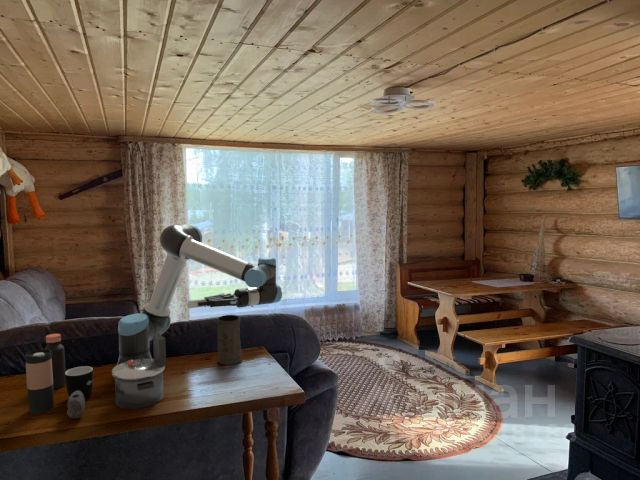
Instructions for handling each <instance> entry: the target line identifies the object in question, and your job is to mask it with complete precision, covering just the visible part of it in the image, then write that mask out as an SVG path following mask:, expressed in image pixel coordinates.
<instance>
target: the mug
mask: <svg viewBox="0 0 640 480" xmlns="http://www.w3.org/2000/svg"><path fill="white" fill-rule="evenodd" d="M65 381H66V385H65V386H66V387H65V388H66V391H67V396H68V398H69V397H70V395H71V394H72V393H73V392H74V391H77V390H79V391H81V392H82V393H83V395H84V399H86V400H88V399H89V398H90V397H91V395H92V392H93V385H94V369H93V367H92V366H87V365H85V366H84V365H83V366H82V365H81V366H77V367H73V368H69V369H67V370H65ZM87 398H88V399H87Z"/></svg>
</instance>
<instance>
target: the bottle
mask: <svg viewBox="0 0 640 480" xmlns="http://www.w3.org/2000/svg"><path fill="white" fill-rule="evenodd" d="M45 342H46V346H45V348H44V349H48V350H51V357H52V372H53V390H56V389H55V388H57V389H60V388H59V387H61V388H63V387H64V386H66V381H65V372H66V357H65V346H64V345H63V344H61V342H62V335H61V334H60V333H51V334H47V335H46V336H45ZM62 386H63V387H62Z"/></svg>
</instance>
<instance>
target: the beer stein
mask: <svg viewBox="0 0 640 480" xmlns="http://www.w3.org/2000/svg"><path fill="white" fill-rule="evenodd" d="M216 324H217V355H218V357H217V361H218V363H219V364H221V365H226V366H228V365H236V364H239V363H240V362H241V361H242V360H243V355H242V354H243V351H242V346H241V331H240V330H241V327H240V324H241V318H240V316H239V315H235V314H226V315H221V316H219V317H218V318H217V322H216Z"/></svg>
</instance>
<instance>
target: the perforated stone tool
mask: <svg viewBox="0 0 640 480" xmlns="http://www.w3.org/2000/svg"><path fill="white" fill-rule="evenodd" d="M66 404H67V405H66V406H67V408H68V409H67V410H66V413H67V416H68V417H69V418H70V419H73V420H74V419H81V418H82V417H83V415H84V412H85V406H86V400H85V399H84V395H83V393H82V392H81V391H79V390H77V391H74V392H73V393H72V394H71V395H70V397H69V396H68V399H67V403H66Z"/></svg>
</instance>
